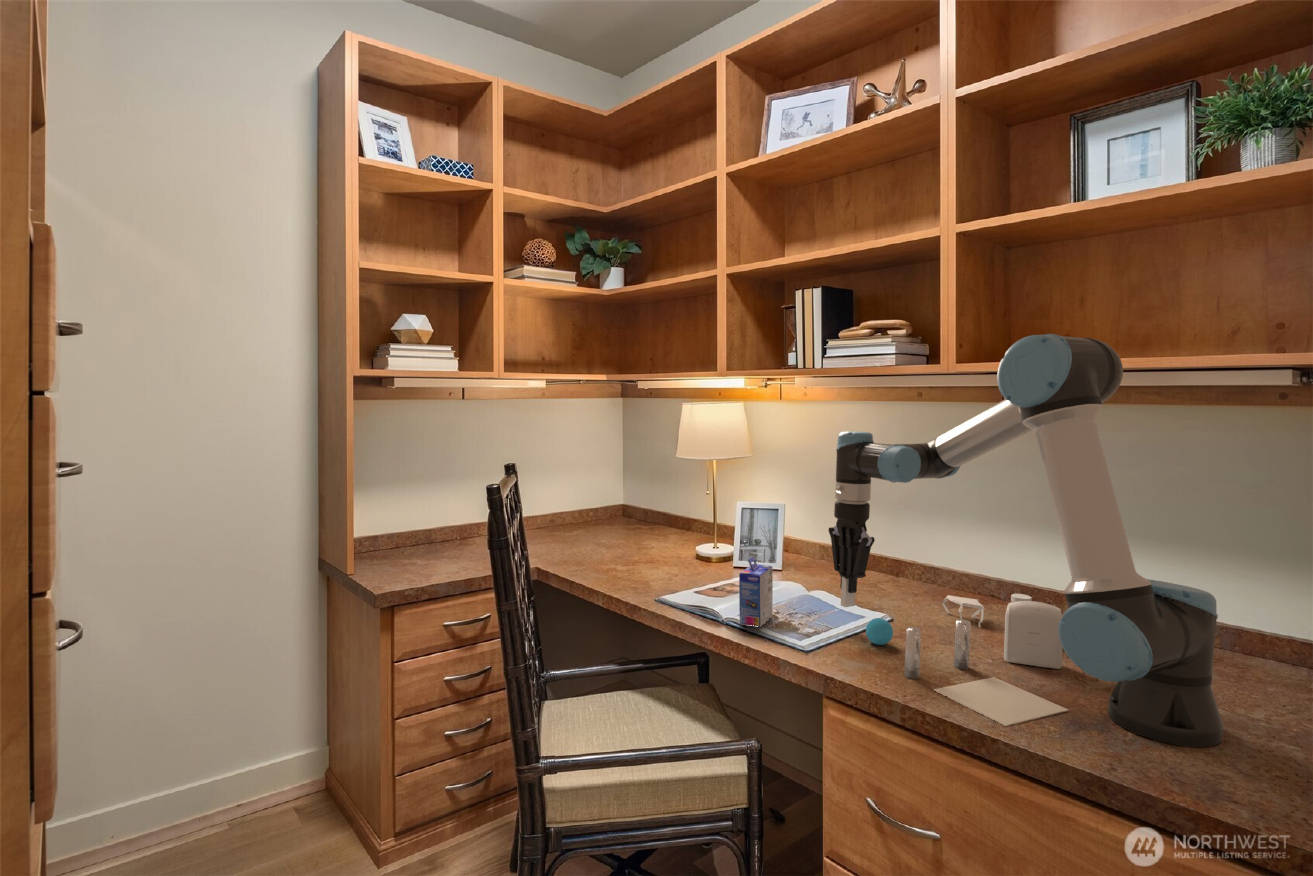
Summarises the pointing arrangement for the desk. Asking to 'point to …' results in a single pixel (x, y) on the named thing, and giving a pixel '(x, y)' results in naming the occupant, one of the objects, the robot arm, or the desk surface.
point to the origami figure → (968, 603)
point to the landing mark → (1000, 701)
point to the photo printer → (1033, 634)
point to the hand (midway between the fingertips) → (847, 605)
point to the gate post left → (912, 652)
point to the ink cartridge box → (755, 594)
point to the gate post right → (962, 644)
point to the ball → (879, 631)
